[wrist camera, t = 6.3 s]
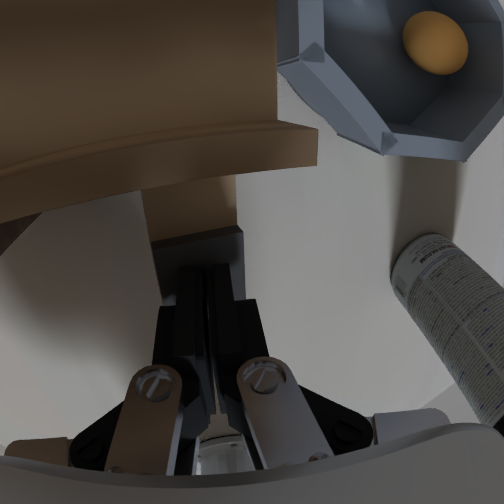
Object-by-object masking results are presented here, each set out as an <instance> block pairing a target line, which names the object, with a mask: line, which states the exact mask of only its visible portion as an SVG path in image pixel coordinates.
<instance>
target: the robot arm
mask: <svg viewBox="0 0 504 504" xmlns="http://www.w3.org/2000/svg"><path fill="white" fill-rule="evenodd" d="M207 283H208V309H209V317H208V310H207V302H206V294H205V286H204V278H203V270H202V269H199V270H197V269H196V266H183V267H180V268H179V277H178V288H177V298H176V305H172V306H160V308H159V313H158V320H157V328H156V335H155V343H154V351H153V360H152V365H151V366H147V367H145V368H143V369H141V370H139V371H138V372H137V373H136V374H135V375H134V376H133V378H132V380H131V382H130V384H129V387H128V390H127V393H126V396H125V400H124V401H123V402H121V403H120V404H119V405H117V406H116V407H115V408H113V409H112V410H111V411H109V412H108V413H107V414H105V415H104V416H103V417H101V418H100V419H99V420H97V421H96V422H94V423H93V424H92V425H90V426H89V427H88V428H86V429H85V430H83V431H82V432H81V433H79V434H78V435H77V436H76V437H75V438H74V439H68V438H67V437H59V438H47V439H31V440H17V441H13V442H12V443H11V444H9V445H8V447H7V448H6V450H5V454H4V456H0V504H504V437H503V436H502V435H501V434H500V433H499V432H498V431H497V430H496V429H494V428H493V427H490V426H488V425H484V424H478V423H454V424H450V421H449V419H448V417H447V415H445V414H444V413H443V412H442V411H440V410H438V409H435V408H433V409H432V408H428V409H419V410H410V411H401V412H390V413H377V414H374V415H373V417H364V416H362V415H361V414H359V413H357V412H355V411H353V410H350V409H348V408H346V407H344V406H342V405H340V404H337V403H335V402H333V401H331V400H329V399H327V398H325V397H323V396H321V395H318V394H316V393H314V392H312V391H310V390H308V389H306V388H304V387H302V386H300V385H298V384H297V382H296V380H295V378H294V376H293V374H292V372H291V370H290V368H289V367H288V366H287V364H285V363H284V362H282V361H281V360H279V359H276V358H273V357H269V353H268V349H267V345H266V340H265V336H264V332H263V328H262V324H261V319H260V315H259V311H258V307H257V303H256V300H255V299H246V300H235V301H234V294H233V287H232V280H231V273H230V266H229V263H220V264H213V268H211V269H207ZM212 364H213V365H212ZM213 370H214V376H215V382H216V388H217V394H218V399H219V405H220V410H221V414H224V413H227V415H228V421H229V426H231V427H233V428H234V429H236V430H237V431H239V432H240V433H242V436H228V437H222V438H217V439H212V440H209V441H206V442H203V443H201V444H200V434H201V433H202V432H203V431H204V430H205V429H207V428H208V424H210V415H211V414H216V406H215V393H214V379H213ZM196 469H197V470H198V471H201V475H196Z"/></svg>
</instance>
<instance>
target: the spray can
mask: <svg viewBox="0 0 504 504" xmlns="http://www.w3.org/2000/svg"><path fill="white" fill-rule="evenodd" d="M391 284H392V287H393V291H394V293H395V295H396V297H397V298H398V300H399V301H400V302H401V304H402V305H403V306H404V308H405V309H406V310H407V312H408V313H409V315H410V316H411V317H412V319H413V320H414V322H415V323H416V324H417V326H418V327H419V328H420V330H421V331H422V333H423V334H424V336H425V337H426V338H427V340H428V341H429V343H430V344H431V346H432V347H433V348H434V350H435V351H436V353H437V355H438V356H439V358H440V359H441V361H442V362H443V363H444V365H445V366H446V368H447V369H448V371H449V372H450V374H451V375H452V377H453V379H454V380H455V382H456V383H457V385H458V386H459V388H460V390H461V391H462V393H463V394H464V396H465V398H466V399H467V401H468V402H469V404H470V406H471V408H472V409H473V411H474V413H475V414H476V416H477V418H478V419H479V421H480V423H481V424H484V425H488V426H490V427H493V428H494V429H496V430H497V431H498V432H499V433H500V434H501V435H502V436H503V437H504V288H503V287H502V286H500V285H499V284H498V283H497V282H496V281H495V280H494V279H493V278H492V277H491V276H490V275H489V274H488V273H487V272H485V271H484V270H483V269H482V268H481V267H480V266H479V265H478V264H477V263H476V262H474V261H473V260H472V259H471V258H470V257H469V256H468V255H467V254H465V253H464V252H463V251H462V250H461V249H460V248H458V247H457V246H456V245H455V244H454V243H453V242H451V241H450V240H449V239H448V238H446V237H444V236H442V235H440V234H436V233H428V234H425V235H422V236H420V237H418V238H416V239H415V240H413V241H412V242H411V243H409V244H408V245H407V246H406V247H405V249H404V250H403V251H402V252H401V253H400V255H399V257H398V259H397V262H396V264H395V265H394V267H393V270H392V275H391Z"/></svg>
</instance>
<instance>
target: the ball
mask: <svg viewBox="0 0 504 504" xmlns="http://www.w3.org/2000/svg"><path fill="white" fill-rule="evenodd" d="M403 44H404V47H405V50H406V52H407V54H408V55H409V57H410V58H411V59H412V61H413V62H414V63H415V64H416V65H418V66H419V67H420V68H422V69H423V70H425V71H427V72H430V73H433V74H437V75H447V74H451V73H454V72H456V71H458V70H459V69H460V68H461V67H462V66H463V65H464V63H465V62H466V59H467V56H468V43H467V39H466V36H465V34H464V32H463V31H462V29H461V28H460V27H459V25H458V24H457V23H456V22H455V21H454V20H452V19H451V18H449V17H448V16H446V15H444V14H441V13H439V12H434V11H423V12H419V13H417V14H415V15H413V16H412V17H411V18H410V19H409V20H408V21H407V22H406V24H405V26H404V29H403Z"/></svg>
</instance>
